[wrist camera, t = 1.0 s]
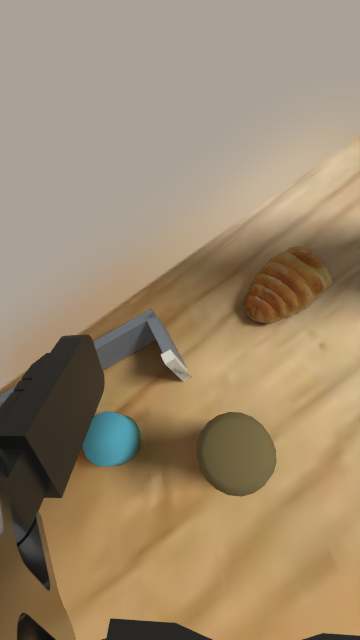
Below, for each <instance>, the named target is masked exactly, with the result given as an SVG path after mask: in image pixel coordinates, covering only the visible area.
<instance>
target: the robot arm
mask: <svg viewBox="0 0 360 640" xmlns="http://www.w3.org/2000/svg"><path fill="white" fill-rule="evenodd" d="M104 382H105V381H104V373H103V370H102V367H101V364H100V361H99V358H98V355H97V352H96V349H95V346H94V342H93V340H92V338H91V336H89V335H72V336H63V337H61V338H60V340H59V341H58V343H57V344H56V345H55V347H54V348H53V350H52V351H51V353H46V354H45V355H44V356H42V357H41V358H40V359H39V360H37V361H36V362H35V363H33V364H32V365H31V367H30V368H29V369H28V371H27V372H26V373H25V375H24V376H23V377H22V381H19V383H18V384H17V385H16V387H15V388H14V392H13V393H11V394H10V395H9V396H8V398H7V399H6V400H5V402H4V403H3V404H2V406H1V407H0V640H76V638H75V634H74V631H73V628H72V625H71V622H70V619H69V617H68V614H67V612H66V610H65V608H64V606H63V603H62V601H61V598H60V595H59V592H58V588H57V583H56V579H55V575H54V570H53V566H52V562H51V557H50V553H49V548H48V544H47V540H46V535H45V531H44V526H43V522H42V518H41V515H40V513H39V511H38V510H39V508H40V506H41V503H42V501H43V499H44V498H62V496H63V493H64V491H65V488H66V486H67V483H68V481H69V478H70V475H71V473H72V470H73V468H74V465H75V463H76V460H77V458H78V455H79V453H80V450H81V448H82V445H83V442H84V440H85V437H86V435H87V432H88V430H89V427H90V425H91V422H92V420H93V417H94V415H95V412H96V409H97V407H98V404H99V402H100V399H101V397H102V394H103V391H104ZM102 640H212V639H210V638H207V637H205V636H203V635H201V634H199V633H196V632H194V631H192V630H190V629H188V628H185V627H183V626H181V625H179V624H176V623H167V622H153V621H138V620H124V619H110V623H109V628H108V634H107V638H106V639H102ZM303 640H360V636H354V635H340V634H325V633H322V634H319V635H316V636H313V637H309V638H306V639H303Z"/></svg>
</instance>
